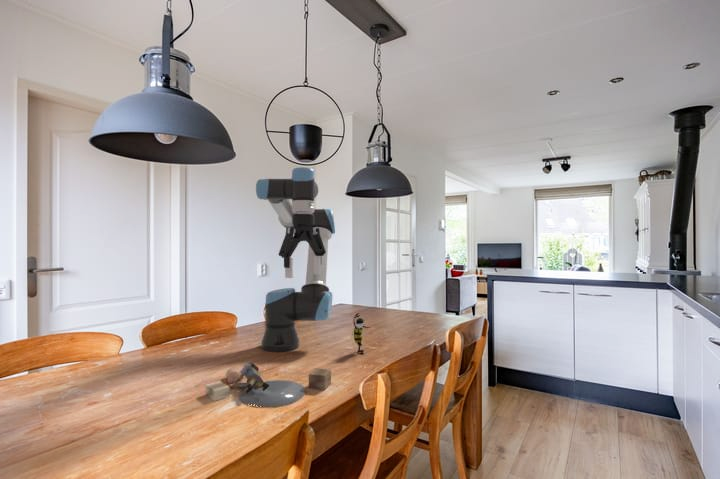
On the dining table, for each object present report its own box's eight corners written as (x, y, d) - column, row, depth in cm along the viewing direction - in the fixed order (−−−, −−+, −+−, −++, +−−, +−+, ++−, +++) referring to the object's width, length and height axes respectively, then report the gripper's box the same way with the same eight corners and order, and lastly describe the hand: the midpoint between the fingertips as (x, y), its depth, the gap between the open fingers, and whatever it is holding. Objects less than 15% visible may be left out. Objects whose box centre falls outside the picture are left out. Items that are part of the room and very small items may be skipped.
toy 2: (370, 355, 140) (370, 315, 140) (350, 355, 140) (350, 315, 140) (370, 350, 147) (370, 312, 147) (351, 350, 147) (351, 312, 147)
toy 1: (244, 415, 98) (237, 392, 112) (271, 387, 101) (262, 368, 115) (223, 397, 96) (219, 376, 110) (252, 369, 99) (245, 351, 112)
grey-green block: (205, 399, 103) (205, 384, 103) (219, 395, 105) (219, 380, 106) (214, 406, 98) (214, 391, 98) (229, 401, 101) (229, 386, 101)
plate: (225, 400, 102) (225, 395, 102) (275, 379, 116) (275, 376, 116) (269, 418, 91) (269, 413, 91) (318, 393, 106) (318, 389, 106)
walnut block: (308, 391, 108) (308, 374, 108) (315, 384, 113) (315, 368, 112) (324, 393, 106) (324, 375, 106) (331, 386, 111) (330, 369, 111)
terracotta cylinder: (225, 383, 111) (223, 377, 115) (237, 387, 112) (235, 382, 117) (232, 370, 112) (230, 365, 116) (244, 375, 113) (241, 370, 118)
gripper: (283, 211, 114) (283, 280, 114) (335, 214, 134) (335, 273, 135) (267, 212, 118) (267, 278, 119) (319, 215, 139) (319, 272, 139)
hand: (303, 276), depth 127 cm, fingers open, 13 cm apart
